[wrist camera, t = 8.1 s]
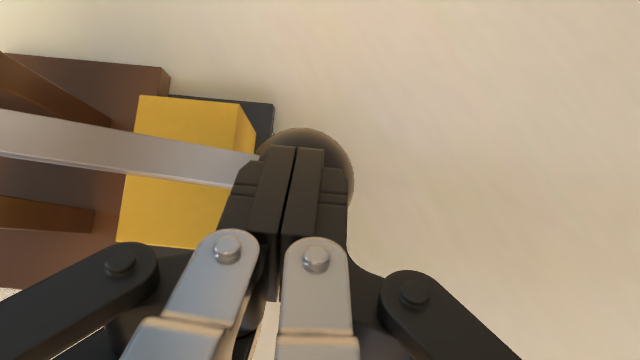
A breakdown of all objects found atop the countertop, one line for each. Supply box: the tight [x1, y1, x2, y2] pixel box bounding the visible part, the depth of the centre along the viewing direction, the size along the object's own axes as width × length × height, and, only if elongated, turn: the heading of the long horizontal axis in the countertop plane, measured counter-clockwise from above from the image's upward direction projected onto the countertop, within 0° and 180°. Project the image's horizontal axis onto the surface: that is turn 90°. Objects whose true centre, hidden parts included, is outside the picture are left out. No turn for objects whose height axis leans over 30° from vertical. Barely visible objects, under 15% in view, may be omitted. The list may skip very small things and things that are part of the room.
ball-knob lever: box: [0, 108, 354, 208], centre depth 12 cm, size 15×4×4 cm, turn 84°
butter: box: [116, 95, 275, 258], centre depth 17 cm, size 5×8×5 cm, turn 174°
